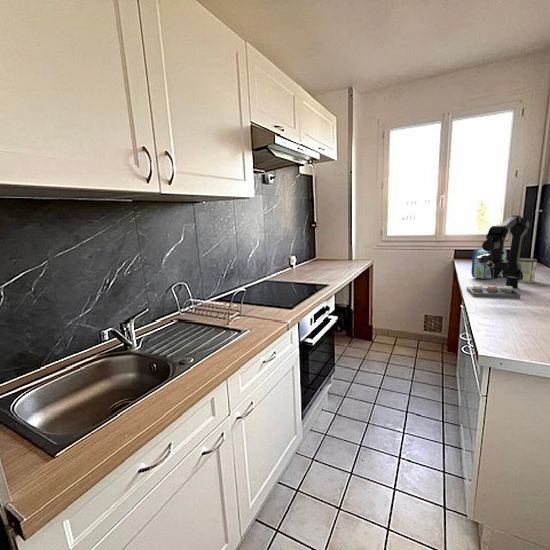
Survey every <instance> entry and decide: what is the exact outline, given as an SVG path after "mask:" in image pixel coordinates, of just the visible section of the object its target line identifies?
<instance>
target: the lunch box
mask: <svg viewBox="0 0 550 550" xmlns="http://www.w3.org/2000/svg"><path fill="white" fill-rule="evenodd" d="M503 252H505V253H504V254H503V257H502V259H503V260H504V261H505V262H507V255H508V254H507V250H506V248H505V247H504V248H503ZM484 254H488V251H485V250H484V249H483V248H482V247H481V248H477V249H475V250H474V251H473V255H472V259H471V260H472V261H471V277H472V278H477V279H482V280H490V279H491V280H492V279H494V278H493V277H491V273H490V269H489V267H488V266H487V265H486V264H487V263H488V262H486V263H479V262H478V260H477V256H481V255H484ZM498 277H503V275H502V271H501V272H500V274H499V275H498ZM498 277H497V278H498Z"/></svg>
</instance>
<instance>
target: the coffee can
mask: <svg viewBox="0 0 550 550" xmlns="http://www.w3.org/2000/svg"><path fill="white" fill-rule="evenodd" d="M519 263H520V265H521V270H522V272H523V275H524V276H523V280H519V281H518V283H534V282H535V277H536V271H537V270H536V268H537V263H538V259H536V258H530V257H519Z"/></svg>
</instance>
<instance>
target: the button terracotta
mask: <svg viewBox="0 0 550 550" xmlns="http://www.w3.org/2000/svg"><path fill="white" fill-rule="evenodd" d="M487 288H488V292H496V290H497V288H499V287H498V286H496V285H492V284H491V285H487Z"/></svg>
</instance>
